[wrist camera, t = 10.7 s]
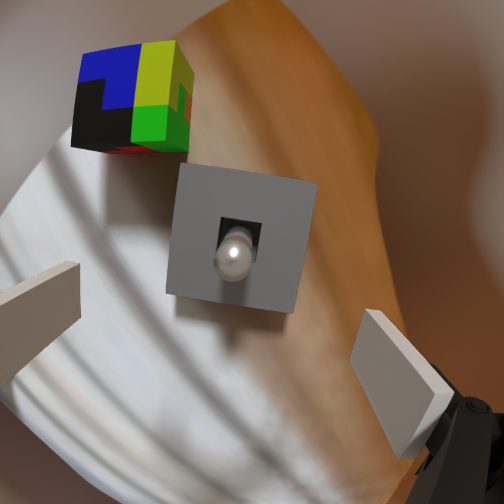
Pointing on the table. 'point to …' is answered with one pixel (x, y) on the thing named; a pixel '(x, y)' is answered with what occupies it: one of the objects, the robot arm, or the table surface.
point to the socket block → (227, 214)
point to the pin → (234, 253)
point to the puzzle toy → (134, 100)
